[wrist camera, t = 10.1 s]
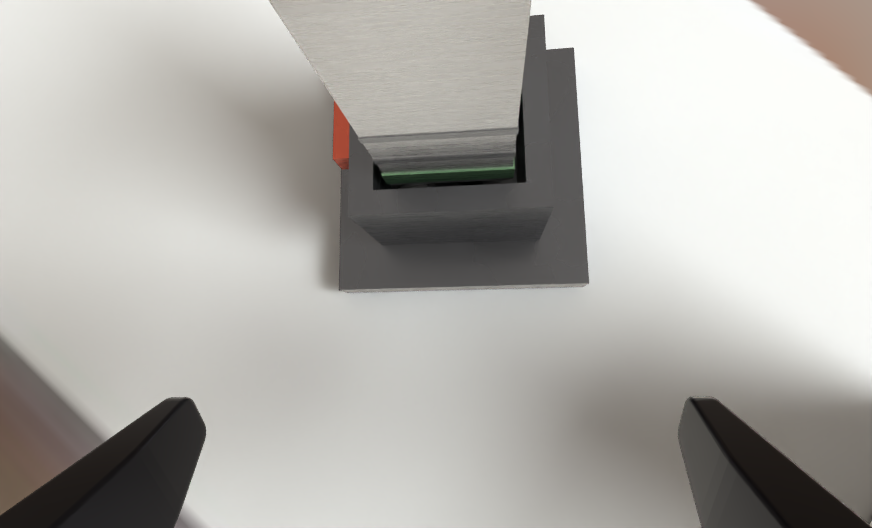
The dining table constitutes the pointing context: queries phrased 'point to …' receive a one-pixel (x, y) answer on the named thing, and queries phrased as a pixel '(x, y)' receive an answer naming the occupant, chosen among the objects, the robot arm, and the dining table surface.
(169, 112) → the dining table surface
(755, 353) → the dining table surface
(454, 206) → the stand
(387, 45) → the post
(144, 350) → the dining table surface
